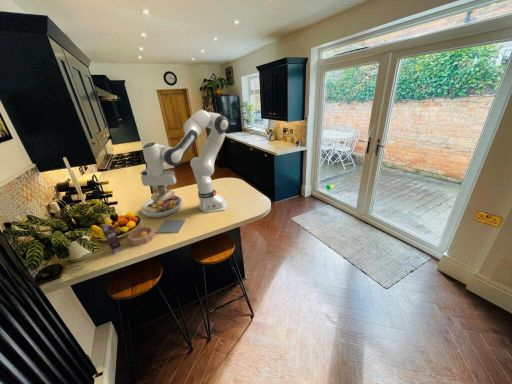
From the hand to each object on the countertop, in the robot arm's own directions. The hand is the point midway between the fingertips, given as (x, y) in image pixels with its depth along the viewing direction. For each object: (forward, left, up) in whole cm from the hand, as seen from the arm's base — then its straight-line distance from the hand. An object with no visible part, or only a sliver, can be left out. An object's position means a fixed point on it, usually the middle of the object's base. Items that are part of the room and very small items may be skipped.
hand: (161, 191), depth 135 cm
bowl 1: (+14, +12, -27) cm, 33 cm away
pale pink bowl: (0, 0, -3) cm, 3 cm away
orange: (+13, +12, -25) cm, 30 cm away
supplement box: (+25, +22, -27) cm, 43 cm away
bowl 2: (+16, -25, -27) cm, 40 cm away
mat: (0, 0, -27) cm, 27 cm away
